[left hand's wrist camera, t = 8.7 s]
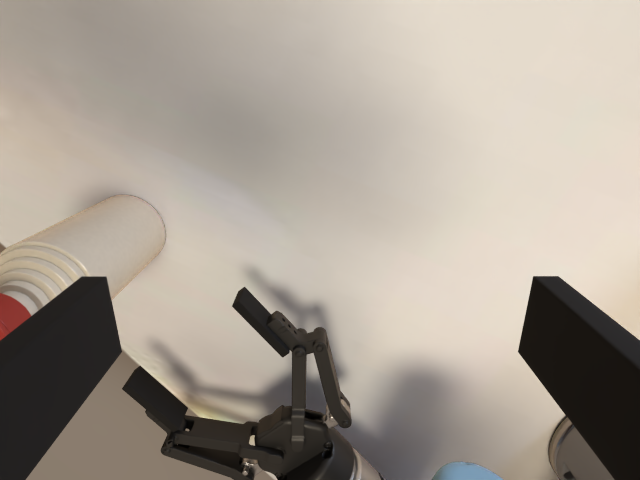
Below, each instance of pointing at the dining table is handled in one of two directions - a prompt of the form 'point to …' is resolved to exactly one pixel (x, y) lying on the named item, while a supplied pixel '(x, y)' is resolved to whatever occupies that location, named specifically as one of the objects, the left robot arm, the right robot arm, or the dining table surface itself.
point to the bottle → (83, 251)
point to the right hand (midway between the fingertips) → (182, 337)
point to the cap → (11, 314)
